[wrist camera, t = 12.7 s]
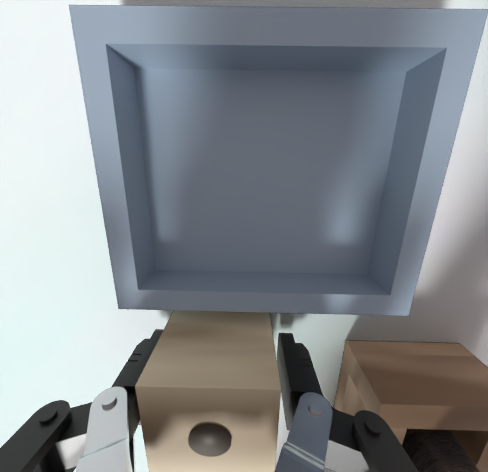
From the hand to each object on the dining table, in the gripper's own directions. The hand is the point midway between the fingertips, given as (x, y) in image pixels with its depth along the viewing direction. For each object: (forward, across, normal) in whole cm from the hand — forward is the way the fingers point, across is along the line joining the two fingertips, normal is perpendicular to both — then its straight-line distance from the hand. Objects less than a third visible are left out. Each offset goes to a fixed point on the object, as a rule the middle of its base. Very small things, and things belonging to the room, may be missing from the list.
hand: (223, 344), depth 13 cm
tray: (+1, -2, -9) cm, 9 cm away
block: (+1, 0, 0) cm, 1 cm away
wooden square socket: (+1, -11, +4) cm, 12 cm away
